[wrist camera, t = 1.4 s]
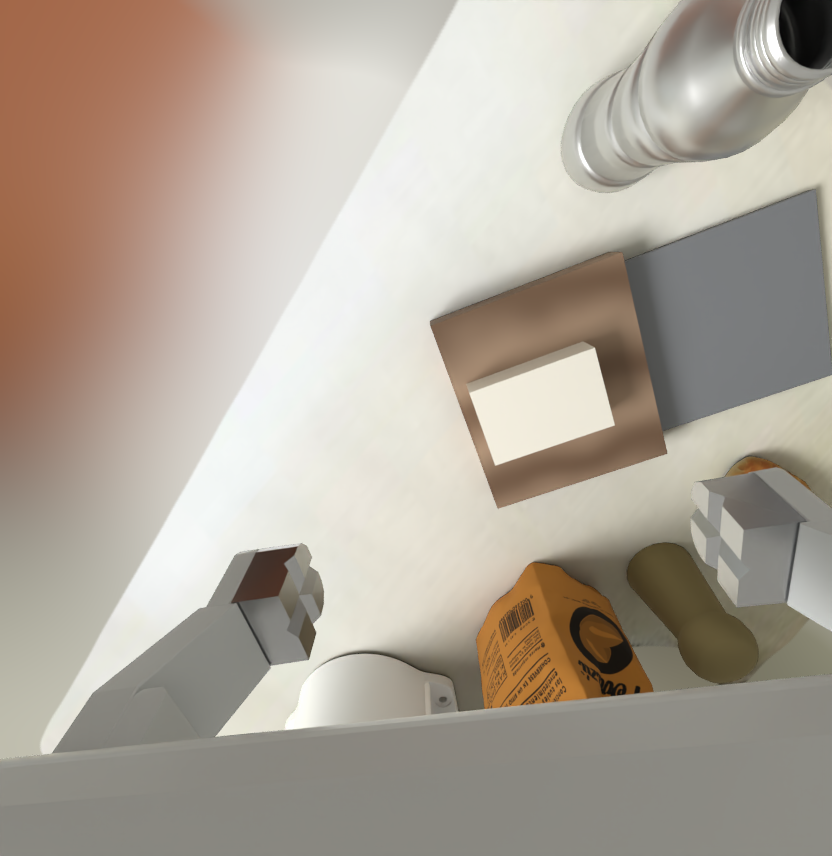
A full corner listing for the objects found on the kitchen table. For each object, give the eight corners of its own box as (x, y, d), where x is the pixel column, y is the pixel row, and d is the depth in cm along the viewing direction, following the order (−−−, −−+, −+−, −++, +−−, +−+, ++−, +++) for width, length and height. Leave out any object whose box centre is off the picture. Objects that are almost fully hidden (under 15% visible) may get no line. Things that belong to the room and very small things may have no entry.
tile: (602, 414, 37) (614, 425, 35) (490, 452, 38) (495, 465, 36) (583, 341, 35) (594, 347, 33) (466, 383, 36) (469, 392, 34)
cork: (688, 534, 43) (771, 623, 33) (697, 587, 45) (778, 686, 35) (621, 552, 44) (682, 644, 34) (632, 603, 46) (693, 705, 36)
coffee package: (618, 591, 46) (782, 871, 25) (542, 676, 49) (629, 982, 29) (532, 545, 44) (631, 804, 23) (460, 637, 48) (489, 931, 27)
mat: (826, 372, 38) (832, 374, 38) (656, 429, 40) (659, 431, 39) (809, 190, 34) (815, 189, 33) (618, 263, 36) (622, 263, 35)
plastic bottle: (669, 140, 33) (1002, -11, 14) (592, 218, 35) (796, 178, 16) (609, 62, 31) (891, -222, 13) (531, 148, 33) (677, 12, 14)
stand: (653, 441, 40) (667, 453, 38) (493, 494, 42) (497, 508, 40) (608, 252, 35) (622, 252, 33) (430, 321, 37) (430, 325, 35)
